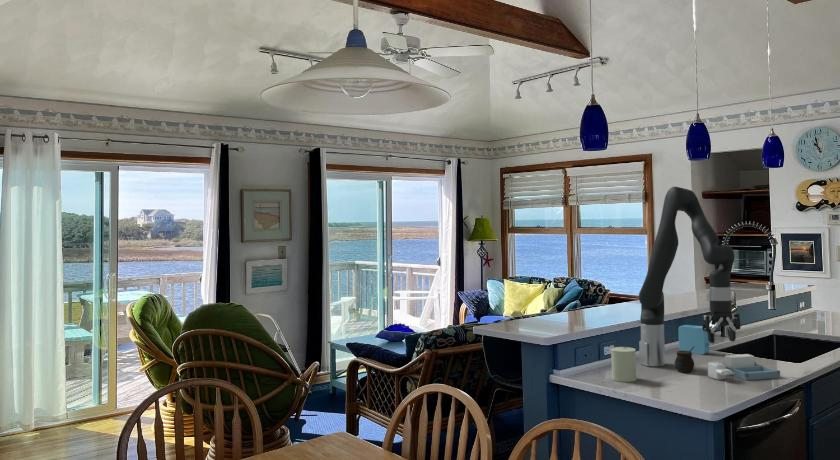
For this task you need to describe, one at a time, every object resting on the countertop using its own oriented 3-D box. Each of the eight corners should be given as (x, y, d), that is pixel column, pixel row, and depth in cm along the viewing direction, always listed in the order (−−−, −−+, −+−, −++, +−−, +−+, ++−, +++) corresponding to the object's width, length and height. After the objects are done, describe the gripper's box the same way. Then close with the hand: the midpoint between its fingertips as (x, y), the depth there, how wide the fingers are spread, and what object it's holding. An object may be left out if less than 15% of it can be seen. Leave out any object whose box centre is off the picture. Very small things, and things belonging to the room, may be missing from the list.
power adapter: (738, 382, 232) (737, 367, 232) (727, 384, 231) (726, 368, 231) (717, 376, 243) (716, 360, 243) (706, 377, 241) (705, 362, 241)
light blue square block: (709, 353, 283) (708, 326, 283) (705, 355, 280) (704, 328, 280) (683, 350, 292) (682, 324, 292) (678, 351, 289) (678, 325, 289)
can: (637, 377, 245) (636, 346, 245) (635, 382, 237) (634, 350, 237) (613, 375, 249) (612, 345, 249) (610, 381, 241) (609, 349, 241)
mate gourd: (671, 370, 255) (670, 345, 255) (689, 369, 256) (688, 344, 256) (680, 374, 248) (679, 348, 248) (698, 373, 248) (698, 347, 248)
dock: (746, 380, 235) (745, 364, 235) (716, 369, 253) (715, 354, 253) (780, 377, 237) (779, 361, 237) (747, 367, 255) (747, 352, 255)
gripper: (730, 296, 242) (732, 339, 242) (697, 298, 239) (698, 341, 239) (744, 298, 234) (745, 342, 235) (709, 300, 232) (711, 345, 232)
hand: (721, 341), depth 237 cm, fingers open, 8 cm apart
